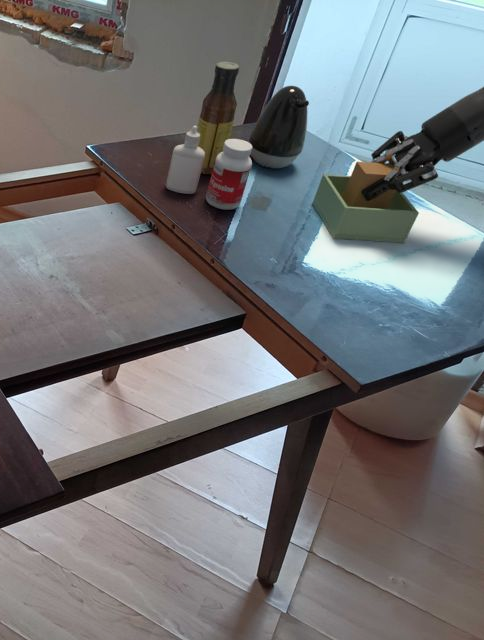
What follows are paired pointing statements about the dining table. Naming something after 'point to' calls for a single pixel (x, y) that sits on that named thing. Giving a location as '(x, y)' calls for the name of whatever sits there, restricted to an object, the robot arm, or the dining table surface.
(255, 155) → the black bird figurine
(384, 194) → the block
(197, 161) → the eye dropper bottle
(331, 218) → the open box
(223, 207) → the pill bottle
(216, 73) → the sauce bottle
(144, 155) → the dining table surface
